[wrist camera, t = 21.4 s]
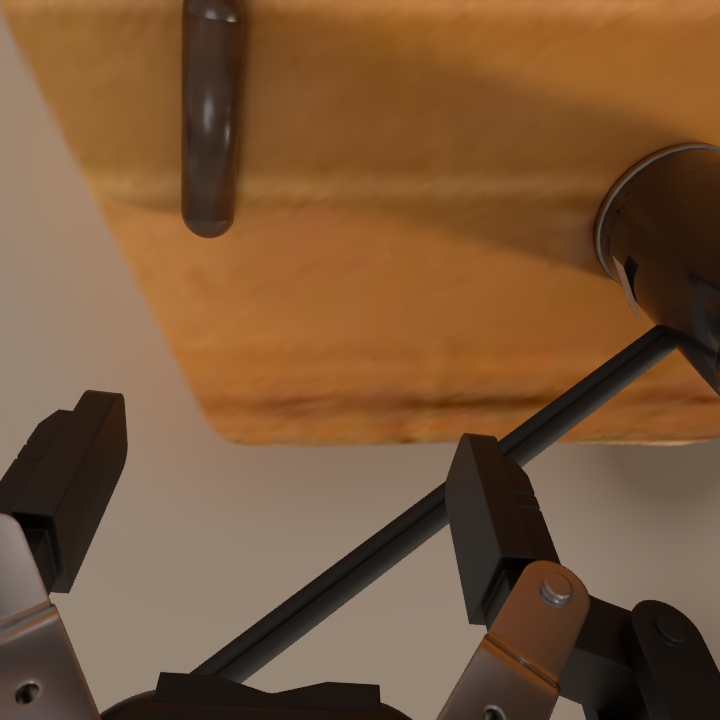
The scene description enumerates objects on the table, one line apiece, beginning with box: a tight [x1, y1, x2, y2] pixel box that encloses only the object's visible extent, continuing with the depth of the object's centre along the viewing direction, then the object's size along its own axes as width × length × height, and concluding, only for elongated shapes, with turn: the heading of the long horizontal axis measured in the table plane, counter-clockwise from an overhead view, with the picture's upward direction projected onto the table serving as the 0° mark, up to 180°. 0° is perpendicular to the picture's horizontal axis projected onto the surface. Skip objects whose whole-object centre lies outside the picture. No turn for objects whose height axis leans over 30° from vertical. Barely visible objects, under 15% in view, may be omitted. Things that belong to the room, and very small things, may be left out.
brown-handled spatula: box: [181, 0, 245, 238], centre depth 29 cm, size 20×3×3 cm, turn 170°
